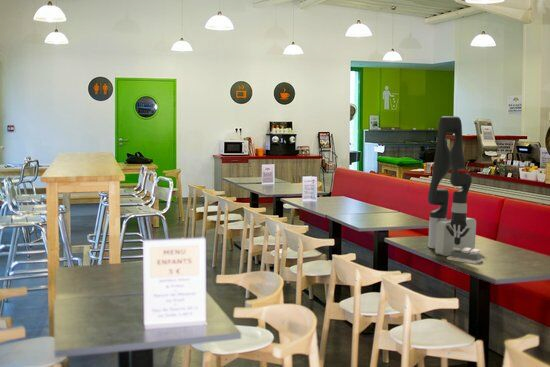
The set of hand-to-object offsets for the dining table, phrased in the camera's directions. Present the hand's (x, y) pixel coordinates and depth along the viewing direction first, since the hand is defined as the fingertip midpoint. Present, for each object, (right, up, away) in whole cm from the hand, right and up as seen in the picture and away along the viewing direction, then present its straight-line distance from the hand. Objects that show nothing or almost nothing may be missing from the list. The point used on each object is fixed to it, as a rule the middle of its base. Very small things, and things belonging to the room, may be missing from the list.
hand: (457, 244), depth 347 cm
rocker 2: (+4, -3, -1) cm, 5 cm away
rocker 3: (+8, -3, -4) cm, 9 cm away
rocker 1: (+1, -2, +2) cm, 3 cm away
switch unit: (+3, -8, -2) cm, 9 cm away
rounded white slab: (+3, -6, +17) cm, 18 cm away
